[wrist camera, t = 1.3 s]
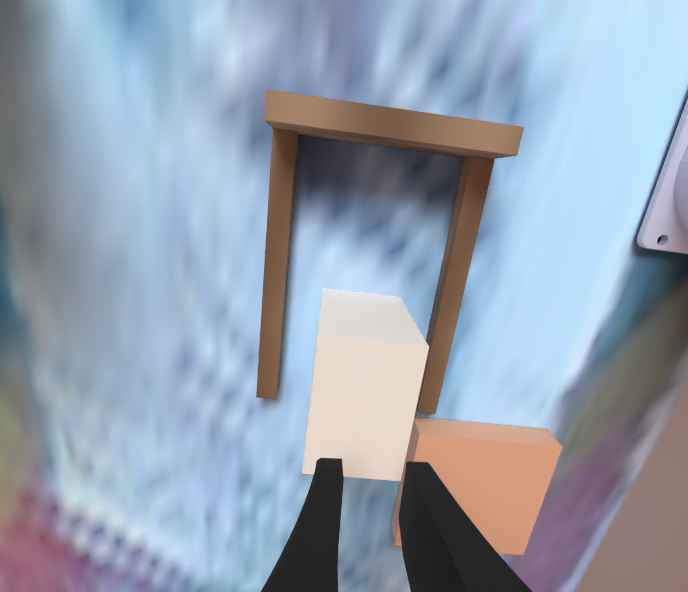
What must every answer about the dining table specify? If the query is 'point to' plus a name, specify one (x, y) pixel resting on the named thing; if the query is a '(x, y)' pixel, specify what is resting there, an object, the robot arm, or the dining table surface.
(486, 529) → the tile
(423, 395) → the frame
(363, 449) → the block
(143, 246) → the dining table surface
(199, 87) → the dining table surface
